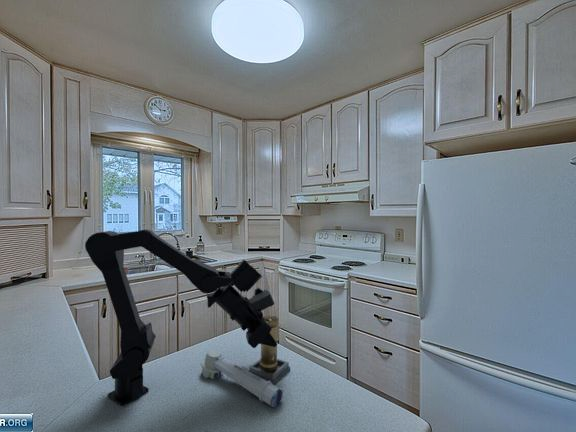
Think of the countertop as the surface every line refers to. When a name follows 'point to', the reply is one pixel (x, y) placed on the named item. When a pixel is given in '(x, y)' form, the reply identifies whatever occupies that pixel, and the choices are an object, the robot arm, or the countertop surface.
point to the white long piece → (241, 378)
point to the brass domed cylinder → (270, 347)
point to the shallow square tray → (270, 375)
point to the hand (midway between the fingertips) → (274, 341)
